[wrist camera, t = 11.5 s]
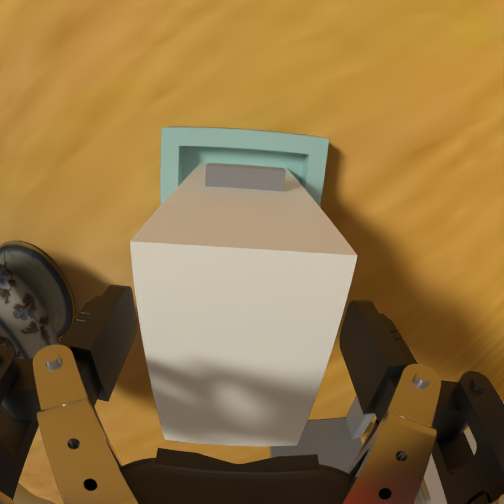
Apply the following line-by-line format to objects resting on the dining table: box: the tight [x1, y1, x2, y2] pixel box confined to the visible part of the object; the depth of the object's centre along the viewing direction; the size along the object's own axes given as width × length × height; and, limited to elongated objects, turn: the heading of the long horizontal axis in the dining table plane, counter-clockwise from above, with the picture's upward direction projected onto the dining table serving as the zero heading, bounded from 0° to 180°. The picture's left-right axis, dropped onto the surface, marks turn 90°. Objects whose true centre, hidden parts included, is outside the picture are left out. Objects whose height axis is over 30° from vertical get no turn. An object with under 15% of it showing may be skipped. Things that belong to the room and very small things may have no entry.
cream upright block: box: [130, 162, 358, 446], centre depth 13 cm, size 5×9×12 cm, turn 176°
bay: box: [269, 396, 375, 472], centre depth 23 cm, size 10×13×8 cm
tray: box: [161, 127, 329, 207], centre depth 19 cm, size 9×12×2 cm
